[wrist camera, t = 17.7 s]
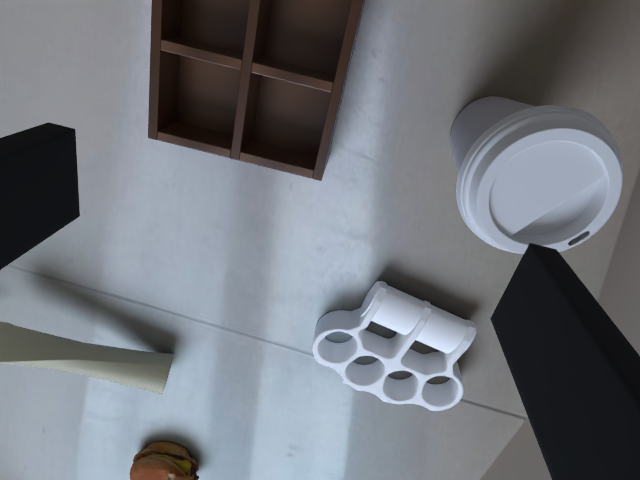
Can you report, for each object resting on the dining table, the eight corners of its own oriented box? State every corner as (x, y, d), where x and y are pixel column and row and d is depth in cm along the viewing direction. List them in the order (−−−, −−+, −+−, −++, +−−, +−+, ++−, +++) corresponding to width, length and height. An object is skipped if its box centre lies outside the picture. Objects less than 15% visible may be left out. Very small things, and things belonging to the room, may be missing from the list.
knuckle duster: (499, 328, 48) (429, 409, 54) (351, 261, 46) (298, 354, 53) (507, 348, 45) (432, 431, 51) (349, 279, 43) (294, 374, 50)
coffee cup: (446, 197, 42) (480, 282, 28) (420, 100, 38) (445, 145, 24) (552, 166, 39) (643, 244, 26) (536, 59, 35) (633, 85, 22)
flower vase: (176, 334, 63) (-109, 273, 54) (192, 290, 55) (-144, 209, 45) (154, 416, 56) (-185, 362, 46) (168, 380, 47) (-245, 305, 37)
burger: (135, 469, 67) (119, 498, 63) (143, 431, 63) (127, 461, 59) (196, 488, 68) (184, 518, 64) (208, 452, 63) (197, 483, 59)
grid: (397, -135, 31) (400, -159, 27) (326, 165, 41) (321, 181, 37) (186, -188, 31) (157, -219, 27) (170, 126, 41) (147, 138, 37)
